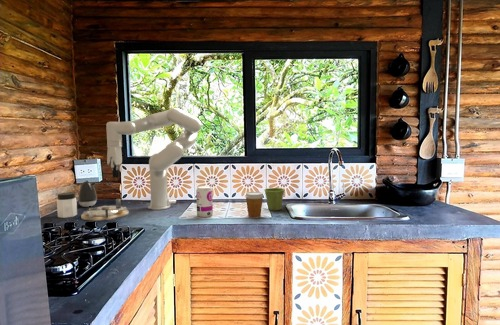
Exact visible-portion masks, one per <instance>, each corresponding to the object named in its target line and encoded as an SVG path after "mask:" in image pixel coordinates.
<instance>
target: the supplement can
mask: <svg viewBox="0 0 500 325" xmlns="http://www.w3.org/2000/svg"><path fill="white" fill-rule="evenodd" d="M195 191H196V197H195V198H196V199H195V200H196V215H197V216H198V217H200V218H209V217H212V215H213V211H214V210H213V207H214V206H213V189H212V186H210V185H209V186H208V185H202V186H197V187H196V190H195Z"/></svg>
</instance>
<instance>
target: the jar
mask: <svg viewBox="0 0 500 325" xmlns="http://www.w3.org/2000/svg"><path fill="white" fill-rule="evenodd" d="M56 212H57V218H59V219H60V218H61V219H66V218H74V217H75V216H77V215H78V205H77V197H76V193H75V192H74V191H73V192H71V191H70V192H69V191H68V192H67V191H66V192H60V193H58V194H57V199H56Z"/></svg>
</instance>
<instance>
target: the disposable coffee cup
mask: <svg viewBox="0 0 500 325" xmlns="http://www.w3.org/2000/svg"><path fill="white" fill-rule="evenodd" d="M264 196H265V194H263V192H261V191H248V192H245V194H244V197H245V199H246V200H245V201H246V208H247V214H248V215H247V216H248V217H249V218H252V217H257V218H260V217H261V214H262V206H263V198H264Z"/></svg>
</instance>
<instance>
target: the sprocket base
mask: <svg viewBox="0 0 500 325" xmlns="http://www.w3.org/2000/svg"><path fill="white" fill-rule="evenodd" d="M105 212H106V217H105V216H99V217H89V216H88V215H84V212H83V213H82V214H80V217H81V219H82V220H83V221H87V222H88V221H91V222H98V221H99V222H101V221H110V220H115V219H121V218H124V217H126V216H128V215H129V214H130V213H129V212H130V211H129V209H128V208H126V211H123V213H122V214H116V215H110V216H108V209H106V210H105Z"/></svg>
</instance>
